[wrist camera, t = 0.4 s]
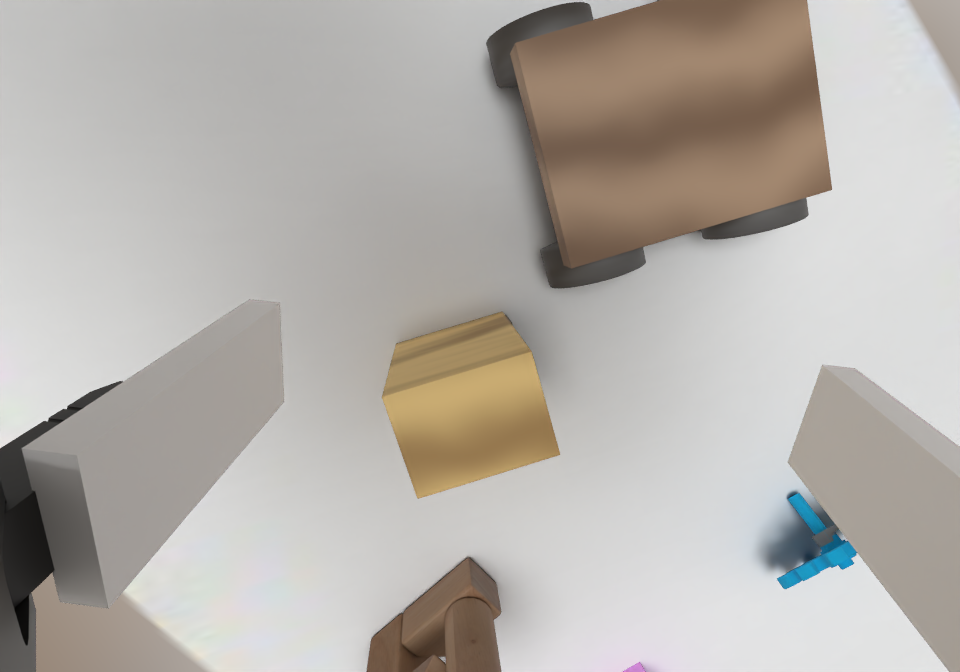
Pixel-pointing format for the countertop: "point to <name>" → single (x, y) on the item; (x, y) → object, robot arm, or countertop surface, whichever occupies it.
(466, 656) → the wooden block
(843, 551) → the gear
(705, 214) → the trolley
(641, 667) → the bracket
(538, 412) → the block
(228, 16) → the countertop surface
